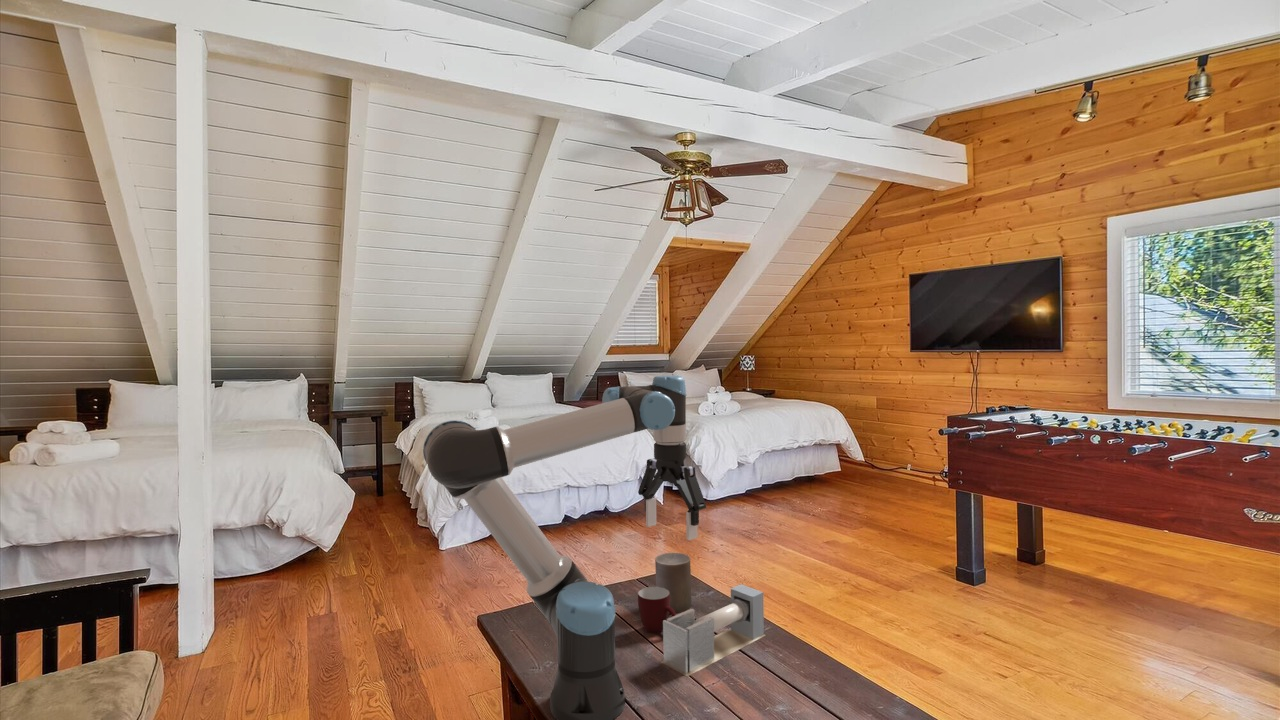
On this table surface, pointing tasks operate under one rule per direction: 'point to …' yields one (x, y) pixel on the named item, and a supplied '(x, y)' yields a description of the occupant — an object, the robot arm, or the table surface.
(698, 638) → the grey u-shaped bracket
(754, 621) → the socket block
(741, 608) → the slip tube
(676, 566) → the pillar candle
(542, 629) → the table surface
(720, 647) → the base board
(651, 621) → the mug
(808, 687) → the table surface
